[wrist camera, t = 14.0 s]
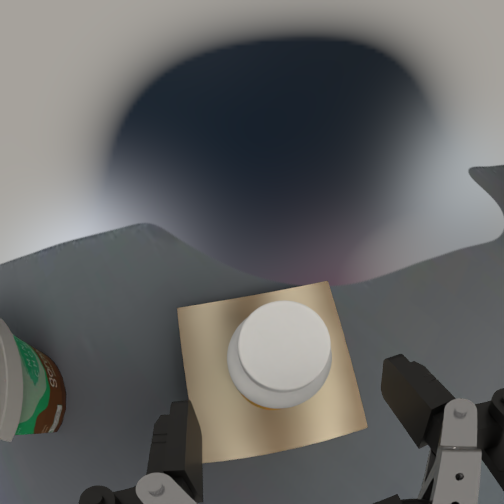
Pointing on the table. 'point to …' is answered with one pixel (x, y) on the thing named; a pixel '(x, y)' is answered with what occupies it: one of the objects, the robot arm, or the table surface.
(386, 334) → the table surface
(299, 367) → the supplement bottle
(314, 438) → the base block
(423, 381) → the robot arm
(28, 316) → the table surface
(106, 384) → the table surface
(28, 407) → the food container
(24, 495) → the table surface
